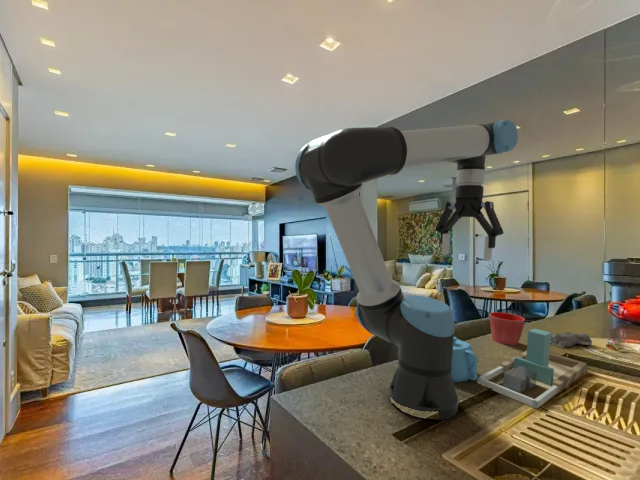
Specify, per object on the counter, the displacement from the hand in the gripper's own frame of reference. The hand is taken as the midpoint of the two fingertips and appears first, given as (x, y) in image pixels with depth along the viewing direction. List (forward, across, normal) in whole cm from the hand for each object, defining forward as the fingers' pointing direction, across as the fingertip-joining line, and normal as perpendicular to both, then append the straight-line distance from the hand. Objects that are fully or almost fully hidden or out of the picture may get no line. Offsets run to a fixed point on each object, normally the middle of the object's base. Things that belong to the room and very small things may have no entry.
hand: (465, 257), depth 102 cm
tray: (+31, -19, +6) cm, 37 cm away
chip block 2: (+31, -19, +2) cm, 36 cm away
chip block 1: (+31, -19, +6) cm, 37 cm away
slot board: (+31, -19, -11) cm, 38 cm away
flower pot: (+31, -1, -27) cm, 41 cm away
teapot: (+32, -4, +12) cm, 34 cm away
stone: (+32, -12, -47) cm, 58 cm away
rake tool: (+30, -19, -6) cm, 36 cm away
